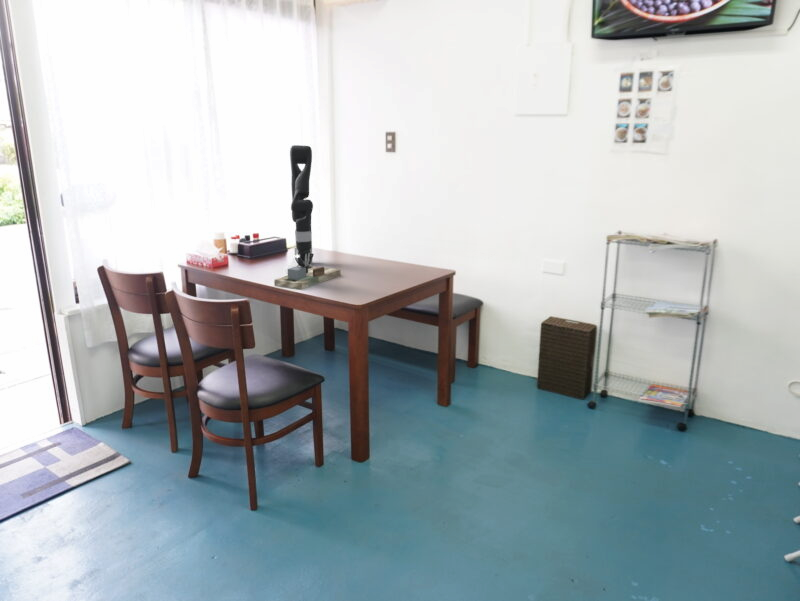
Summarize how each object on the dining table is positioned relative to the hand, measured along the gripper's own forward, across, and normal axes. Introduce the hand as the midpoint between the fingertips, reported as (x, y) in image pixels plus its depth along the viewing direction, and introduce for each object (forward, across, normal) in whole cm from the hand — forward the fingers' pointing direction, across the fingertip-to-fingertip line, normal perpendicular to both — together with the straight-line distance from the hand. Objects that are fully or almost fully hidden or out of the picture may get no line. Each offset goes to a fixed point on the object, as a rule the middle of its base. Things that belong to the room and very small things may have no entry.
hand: (305, 273), depth 288 cm
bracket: (+5, -22, -20) cm, 30 cm away
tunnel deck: (+4, -3, 0) cm, 5 cm away
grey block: (+1, +6, 0) cm, 6 cm away
